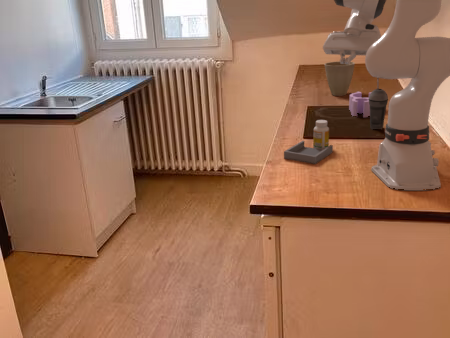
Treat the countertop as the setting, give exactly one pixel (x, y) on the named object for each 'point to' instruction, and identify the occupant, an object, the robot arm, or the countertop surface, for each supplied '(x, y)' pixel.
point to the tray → (307, 153)
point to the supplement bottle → (321, 135)
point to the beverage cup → (377, 107)
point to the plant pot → (339, 77)
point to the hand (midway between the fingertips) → (344, 63)
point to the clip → (359, 104)
